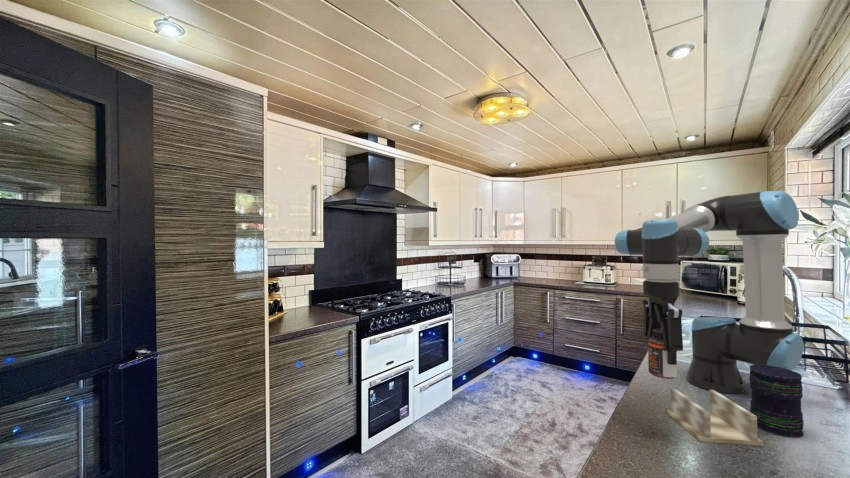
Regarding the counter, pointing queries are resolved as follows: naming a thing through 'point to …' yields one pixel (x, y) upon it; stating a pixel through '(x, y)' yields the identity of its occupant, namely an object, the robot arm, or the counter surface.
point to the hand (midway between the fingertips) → (662, 371)
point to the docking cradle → (715, 419)
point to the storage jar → (777, 400)
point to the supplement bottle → (656, 354)
